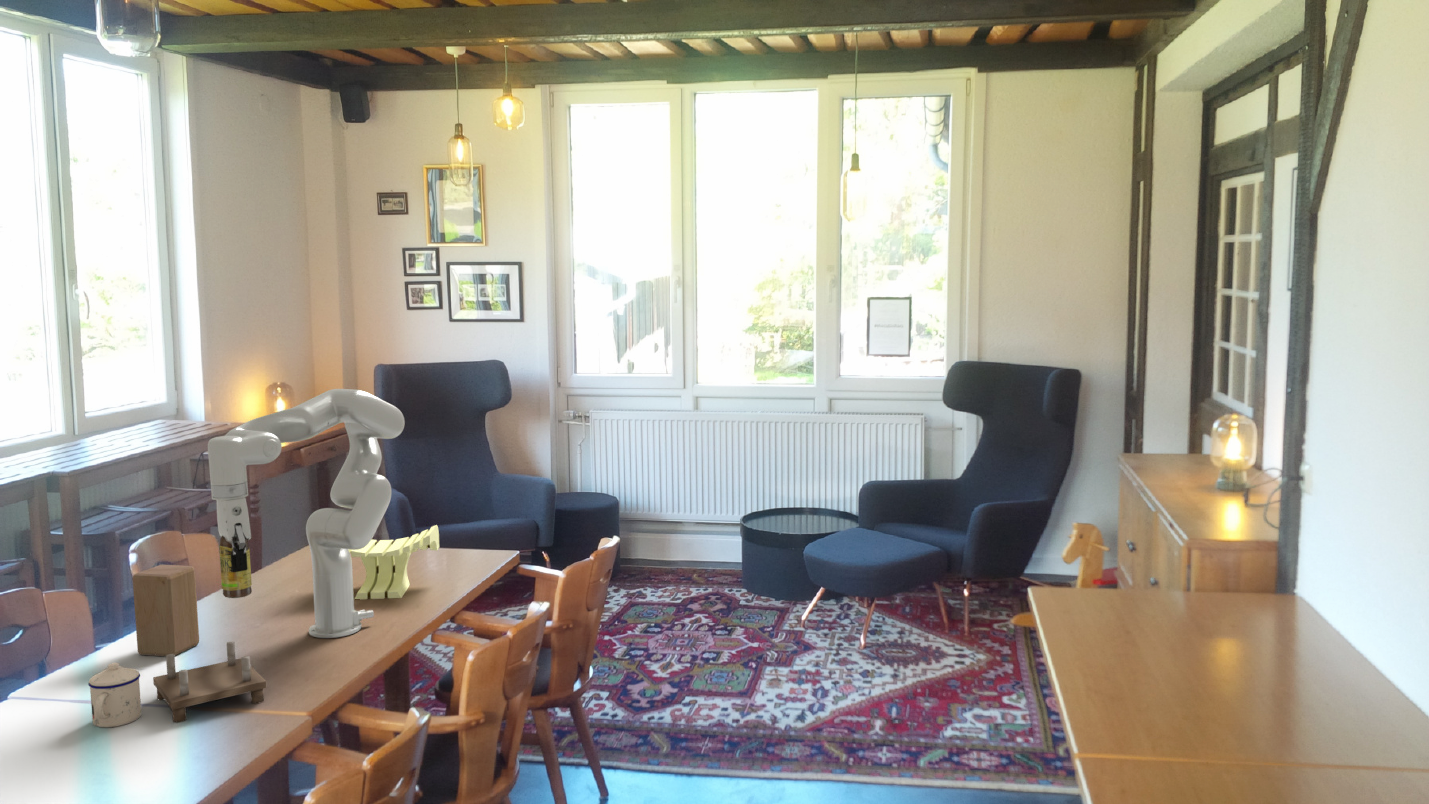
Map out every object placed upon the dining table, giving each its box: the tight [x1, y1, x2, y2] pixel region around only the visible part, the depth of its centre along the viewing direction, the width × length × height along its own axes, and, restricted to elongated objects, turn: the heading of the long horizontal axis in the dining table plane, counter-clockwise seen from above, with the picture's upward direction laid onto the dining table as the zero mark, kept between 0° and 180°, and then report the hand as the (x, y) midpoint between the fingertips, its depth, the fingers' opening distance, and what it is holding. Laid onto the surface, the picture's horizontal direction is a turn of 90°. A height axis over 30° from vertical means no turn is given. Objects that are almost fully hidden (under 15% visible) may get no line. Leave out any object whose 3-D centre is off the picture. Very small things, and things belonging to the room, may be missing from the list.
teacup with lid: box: [87, 662, 142, 728], centre depth 209 cm, size 12×9×12 cm
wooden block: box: [132, 564, 200, 657], centre depth 250 cm, size 10×10×20 cm
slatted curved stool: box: [348, 524, 440, 601], centre depth 299 cm, size 30×16×18 cm, turn 96°
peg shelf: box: [152, 641, 267, 723], centre depth 220 cm, size 18×18×10 cm
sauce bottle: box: [218, 510, 253, 599], centre depth 237 cm, size 6×6×20 cm
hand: (235, 567), depth 237 cm, fingers closed on sauce bottle, 6 cm apart
